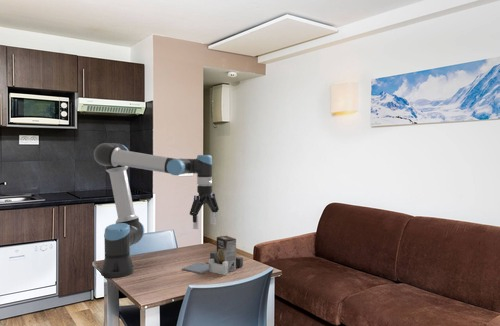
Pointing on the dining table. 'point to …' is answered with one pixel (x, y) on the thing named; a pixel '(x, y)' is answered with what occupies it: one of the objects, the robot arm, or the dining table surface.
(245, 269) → the dining table surface
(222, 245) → the coffee box
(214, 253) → the tie bar
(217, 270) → the clip jaw
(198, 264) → the mat
